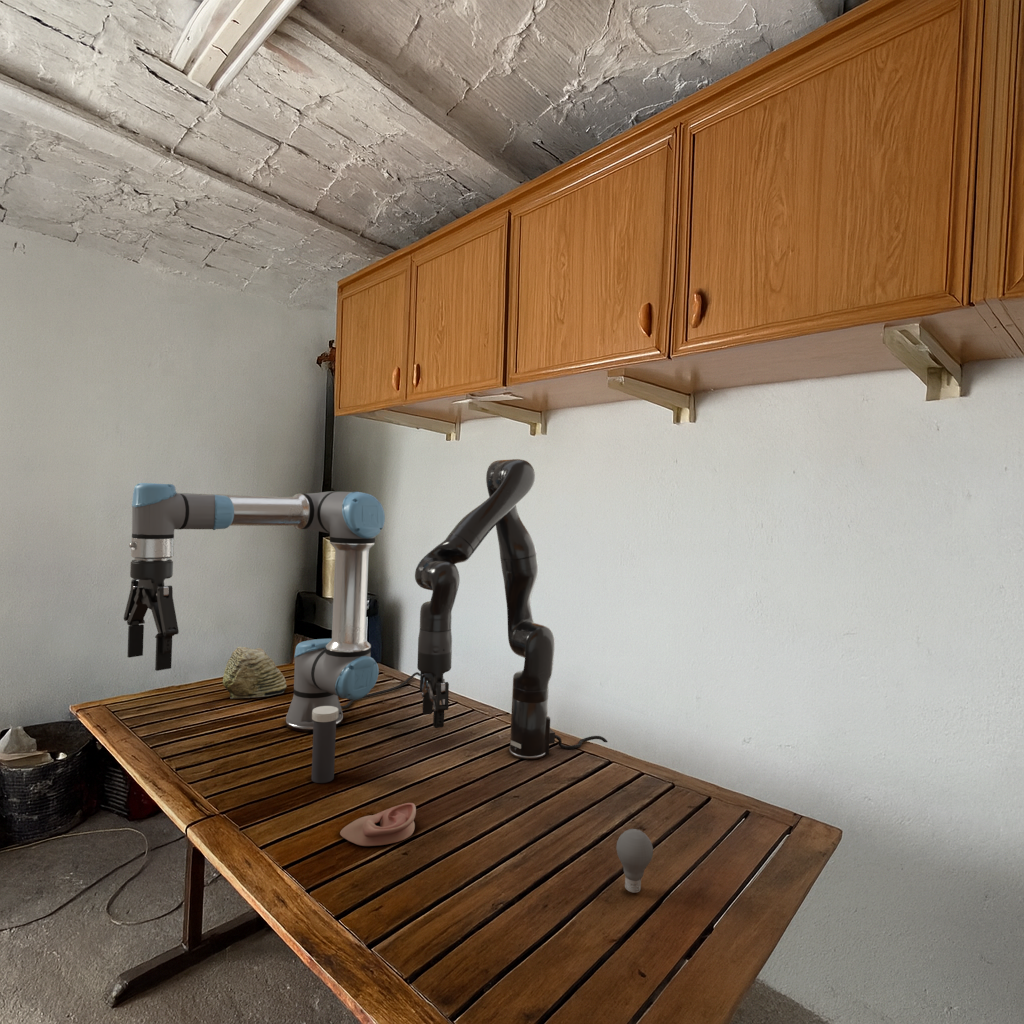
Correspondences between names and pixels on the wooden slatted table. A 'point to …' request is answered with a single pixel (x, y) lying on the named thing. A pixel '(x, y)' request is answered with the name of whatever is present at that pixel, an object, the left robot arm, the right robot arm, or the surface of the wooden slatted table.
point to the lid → (325, 714)
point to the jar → (323, 751)
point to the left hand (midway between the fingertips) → (148, 662)
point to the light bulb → (634, 857)
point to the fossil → (252, 674)
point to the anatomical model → (382, 826)
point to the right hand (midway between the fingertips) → (432, 720)
